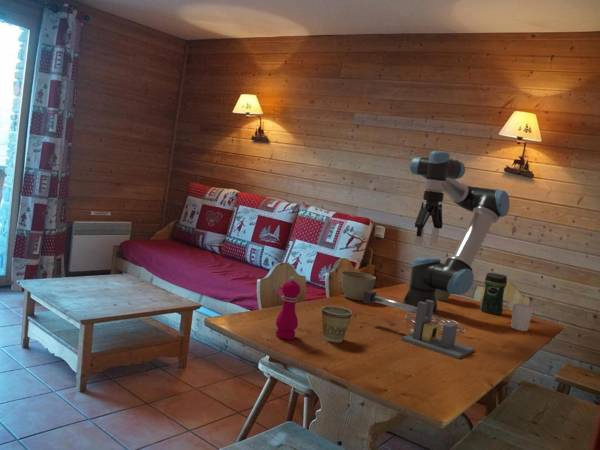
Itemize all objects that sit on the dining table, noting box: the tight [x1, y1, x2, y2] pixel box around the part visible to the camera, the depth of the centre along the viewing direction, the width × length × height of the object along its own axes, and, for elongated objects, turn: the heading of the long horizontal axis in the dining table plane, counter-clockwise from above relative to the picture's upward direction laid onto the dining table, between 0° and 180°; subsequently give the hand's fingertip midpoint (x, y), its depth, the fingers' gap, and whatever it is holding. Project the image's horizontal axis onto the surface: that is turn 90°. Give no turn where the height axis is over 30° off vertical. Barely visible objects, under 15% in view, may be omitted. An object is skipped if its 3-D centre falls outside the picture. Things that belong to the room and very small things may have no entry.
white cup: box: [510, 302, 534, 332], centre depth 224 cm, size 8×8×10 cm
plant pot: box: [435, 289, 451, 302], centre depth 264 cm, size 15×15×16 cm
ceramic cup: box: [321, 305, 357, 343], centre depth 177 cm, size 13×10×10 cm
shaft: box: [362, 290, 417, 315], centre depth 196 cm, size 22×4×4 cm, turn 51°
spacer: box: [421, 320, 440, 343], centre depth 187 cm, size 3×6×6 cm, turn 141°
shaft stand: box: [400, 300, 475, 359], centre depth 184 cm, size 21×14×14 cm, turn 51°
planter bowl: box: [340, 270, 377, 301], centre depth 242 cm, size 16×16×11 cm
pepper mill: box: [275, 276, 301, 340], centre depth 172 cm, size 7×7×20 cm
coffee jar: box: [480, 272, 508, 316], centre depth 248 cm, size 10×8×19 cm
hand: (426, 244), depth 210 cm, fingers open, 13 cm apart
